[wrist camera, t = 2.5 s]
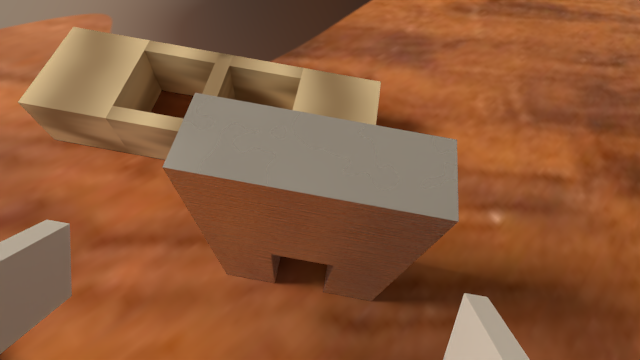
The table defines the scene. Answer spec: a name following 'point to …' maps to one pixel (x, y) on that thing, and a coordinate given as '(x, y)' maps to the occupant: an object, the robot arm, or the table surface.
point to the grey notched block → (312, 191)
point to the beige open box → (170, 90)
